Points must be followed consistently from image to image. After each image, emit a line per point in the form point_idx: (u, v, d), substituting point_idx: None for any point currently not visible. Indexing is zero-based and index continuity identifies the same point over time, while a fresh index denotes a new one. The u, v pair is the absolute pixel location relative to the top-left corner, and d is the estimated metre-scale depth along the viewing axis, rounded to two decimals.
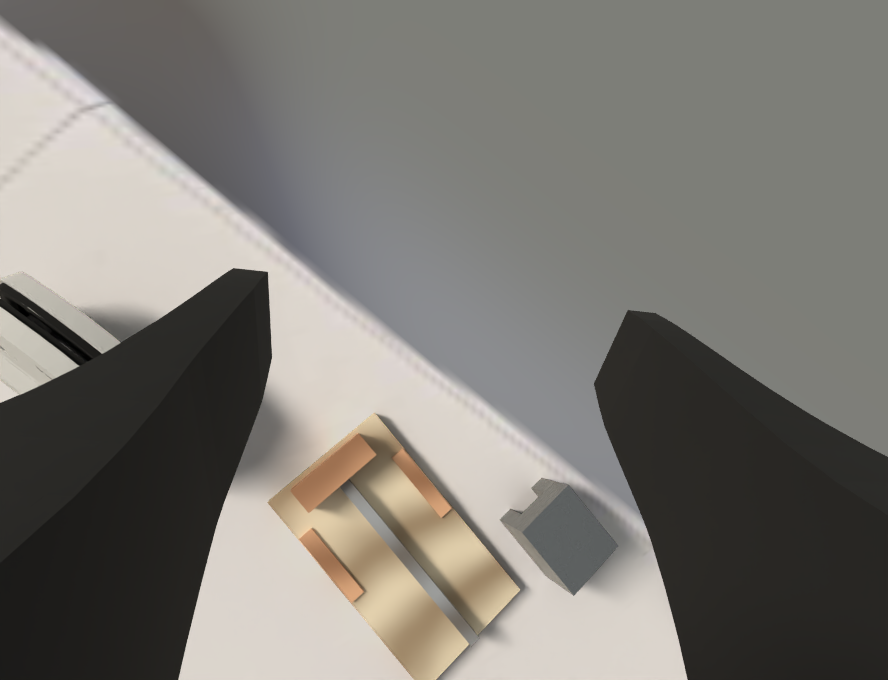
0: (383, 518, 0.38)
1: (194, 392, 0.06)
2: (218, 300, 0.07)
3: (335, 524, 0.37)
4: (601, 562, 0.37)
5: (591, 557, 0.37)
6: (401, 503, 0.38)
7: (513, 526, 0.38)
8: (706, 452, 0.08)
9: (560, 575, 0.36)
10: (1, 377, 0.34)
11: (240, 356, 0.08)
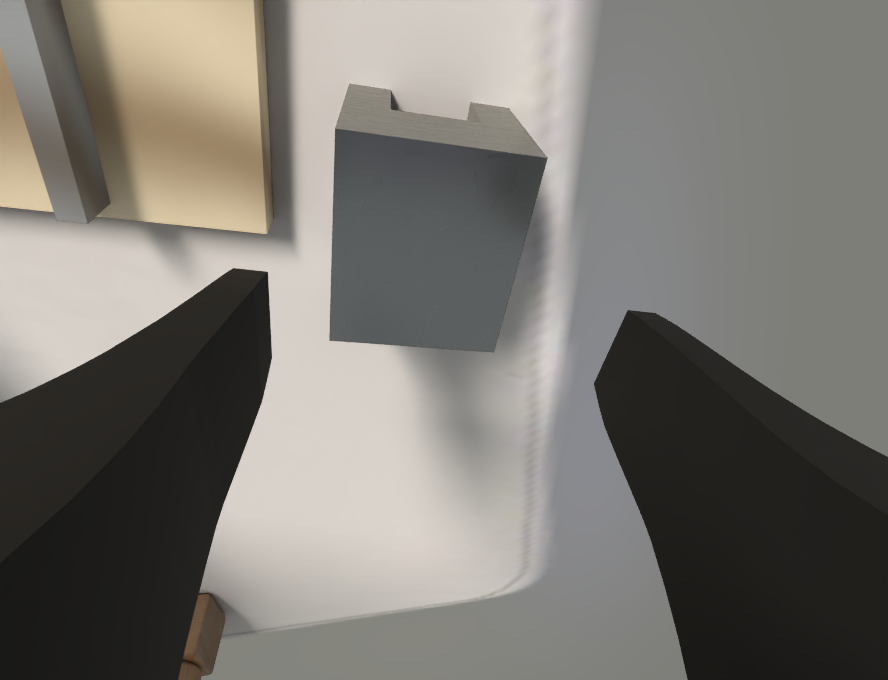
0: None
1: (194, 392, 0.06)
2: (218, 300, 0.07)
3: None
4: (437, 344, 0.15)
5: (430, 322, 0.15)
6: None
7: (345, 108, 0.13)
8: (706, 452, 0.08)
9: (337, 291, 0.14)
10: None
11: (240, 356, 0.08)
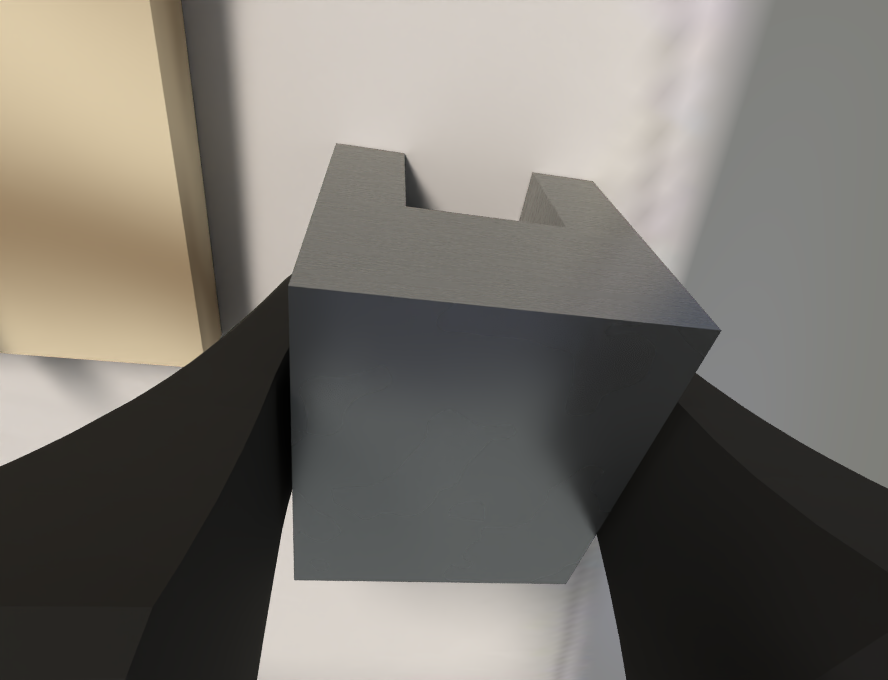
0: None
1: (278, 398, 0.06)
2: (287, 307, 0.08)
3: None
4: (475, 579, 0.09)
5: (466, 555, 0.09)
6: None
7: (319, 212, 0.07)
8: None
9: (304, 523, 0.08)
10: None
11: None
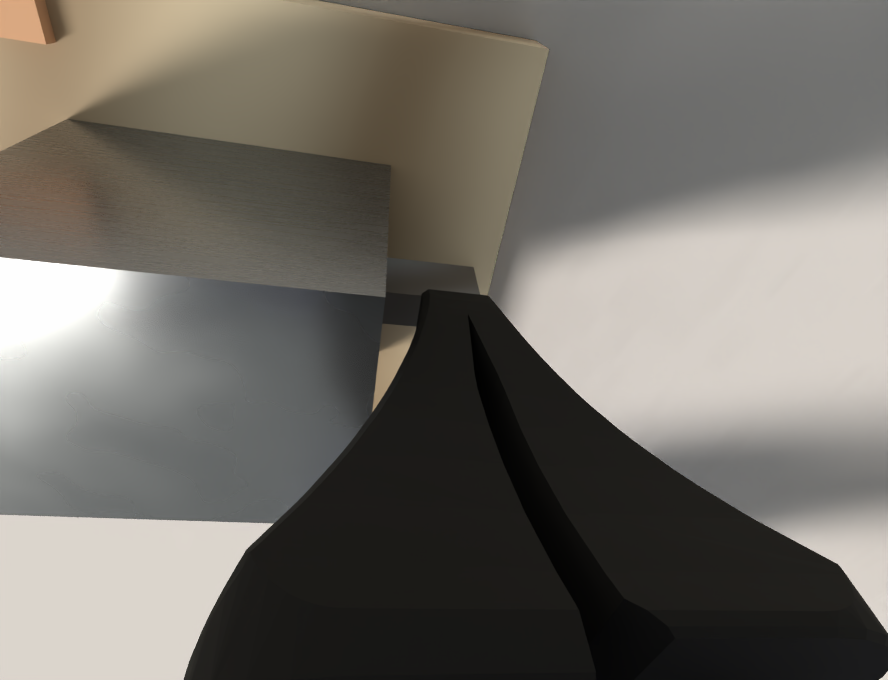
0: None
1: None
2: (449, 322, 0.08)
3: None
4: (364, 399, 0.07)
5: (308, 412, 0.07)
6: None
7: None
8: None
9: (260, 516, 0.09)
10: None
11: None
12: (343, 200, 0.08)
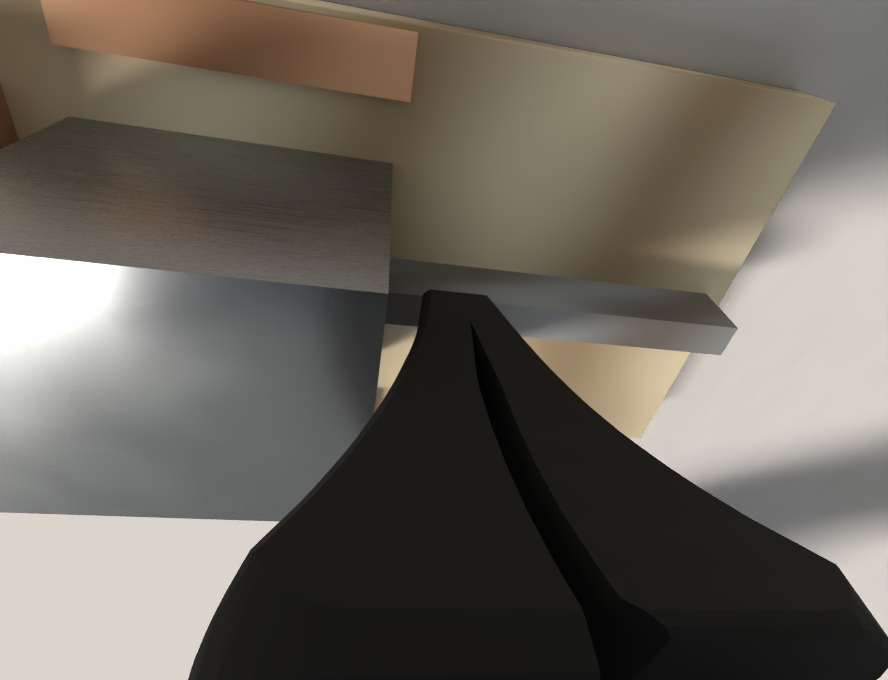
0: None
1: None
2: (451, 323, 0.08)
3: None
4: (367, 397, 0.07)
5: (309, 409, 0.07)
6: None
7: None
8: None
9: (262, 515, 0.09)
10: None
11: None
12: (345, 197, 0.08)
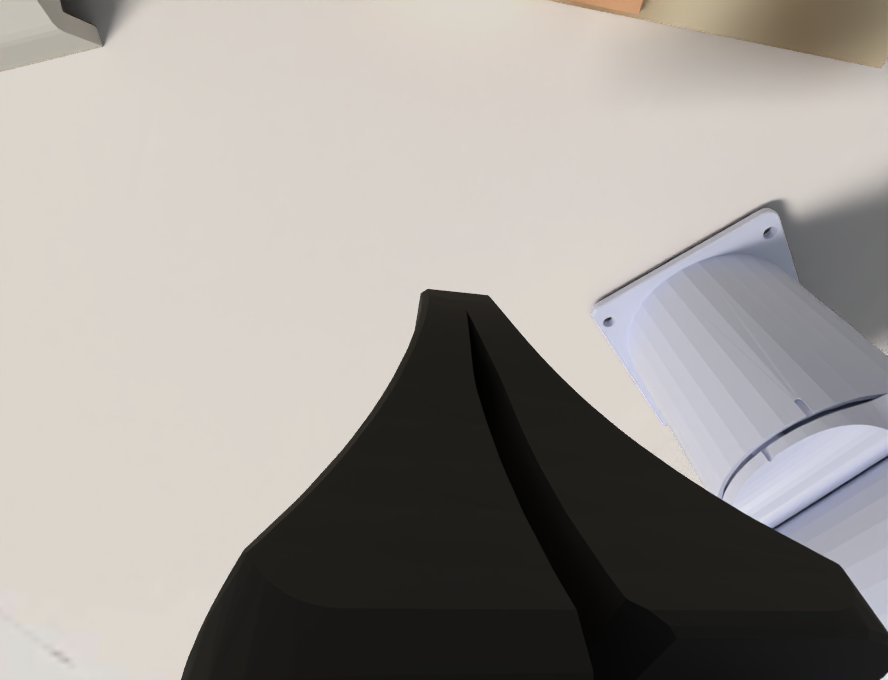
0: None
1: None
2: (448, 322, 0.08)
3: None
4: None
5: None
6: None
7: None
8: None
9: None
10: None
11: None
12: None
